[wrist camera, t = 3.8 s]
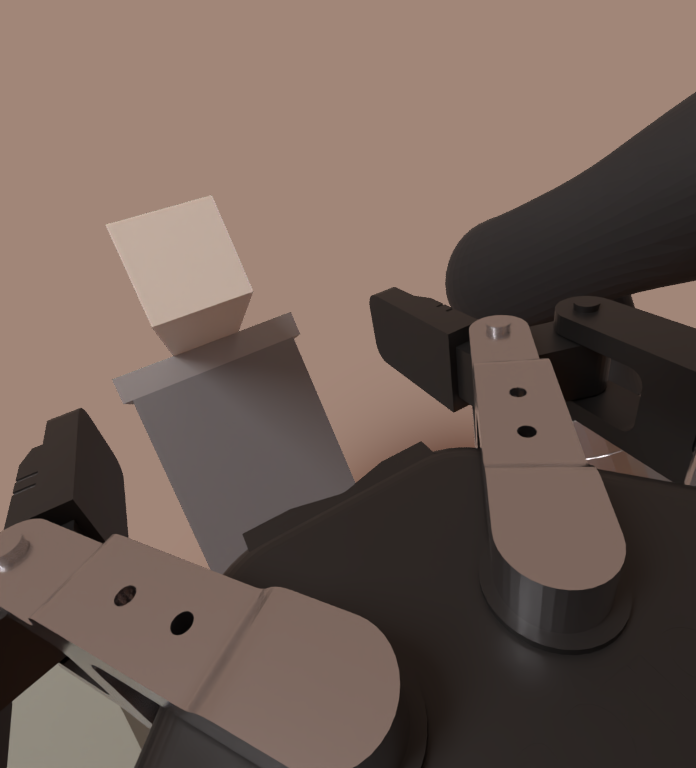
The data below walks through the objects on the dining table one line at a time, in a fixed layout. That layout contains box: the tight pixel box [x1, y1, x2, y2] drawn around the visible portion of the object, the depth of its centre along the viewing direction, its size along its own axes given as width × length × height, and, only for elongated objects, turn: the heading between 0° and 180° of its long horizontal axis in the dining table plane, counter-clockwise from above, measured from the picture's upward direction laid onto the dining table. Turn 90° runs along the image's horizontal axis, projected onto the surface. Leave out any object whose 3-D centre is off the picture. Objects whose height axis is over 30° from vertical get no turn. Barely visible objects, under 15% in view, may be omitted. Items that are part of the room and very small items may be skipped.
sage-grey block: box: [7, 664, 150, 768], centre depth 28 cm, size 10×11×22 cm
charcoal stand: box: [112, 312, 355, 574], centre depth 35 cm, size 11×16×32 cm
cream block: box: [106, 195, 253, 356], centre depth 29 cm, size 4×25×4 cm, turn 19°
